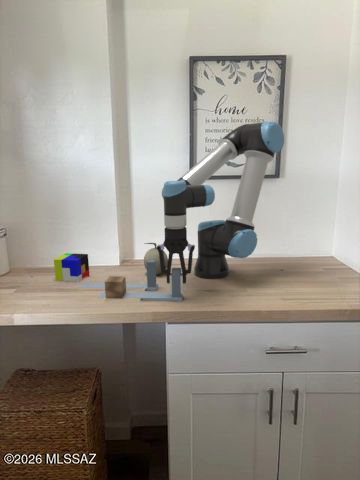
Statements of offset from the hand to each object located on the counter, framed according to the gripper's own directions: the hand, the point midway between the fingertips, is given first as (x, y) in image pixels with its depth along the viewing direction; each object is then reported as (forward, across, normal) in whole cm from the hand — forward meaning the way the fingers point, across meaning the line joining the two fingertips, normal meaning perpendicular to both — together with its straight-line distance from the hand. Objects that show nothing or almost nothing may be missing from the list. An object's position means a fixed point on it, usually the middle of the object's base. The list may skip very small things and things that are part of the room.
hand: (176, 291), depth 125 cm
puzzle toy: (+3, +46, -19) cm, 49 cm away
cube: (+2, +22, 0) cm, 22 cm away
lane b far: (+3, +31, -9) cm, 32 cm away
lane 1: (+3, +14, -9) cm, 17 cm away
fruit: (+3, +12, -28) cm, 30 cm away
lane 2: (+3, +13, 0) cm, 13 cm away
